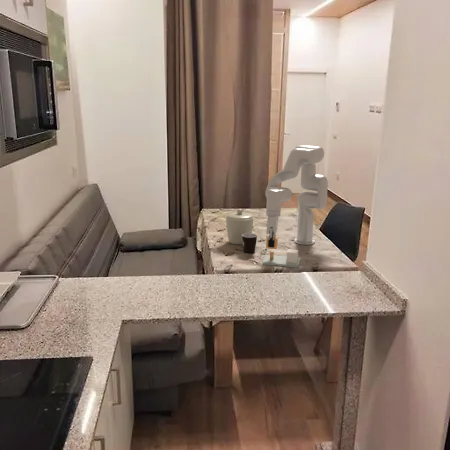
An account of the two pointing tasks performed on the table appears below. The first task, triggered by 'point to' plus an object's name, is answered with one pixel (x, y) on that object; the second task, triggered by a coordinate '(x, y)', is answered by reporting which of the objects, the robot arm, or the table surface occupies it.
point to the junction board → (283, 259)
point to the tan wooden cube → (274, 243)
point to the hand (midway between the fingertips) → (271, 245)
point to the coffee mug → (249, 242)
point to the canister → (238, 225)
